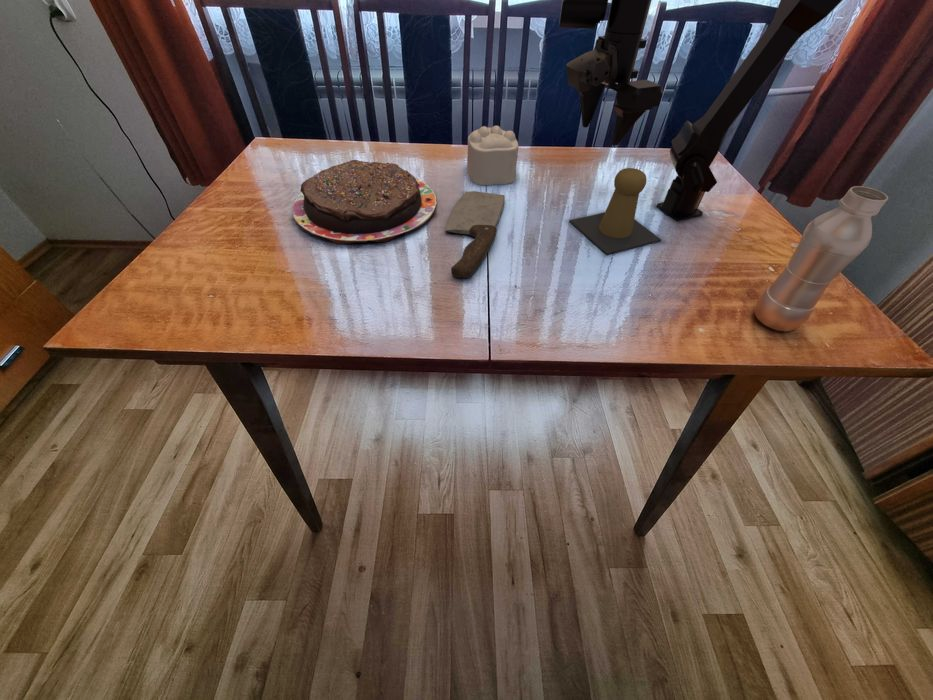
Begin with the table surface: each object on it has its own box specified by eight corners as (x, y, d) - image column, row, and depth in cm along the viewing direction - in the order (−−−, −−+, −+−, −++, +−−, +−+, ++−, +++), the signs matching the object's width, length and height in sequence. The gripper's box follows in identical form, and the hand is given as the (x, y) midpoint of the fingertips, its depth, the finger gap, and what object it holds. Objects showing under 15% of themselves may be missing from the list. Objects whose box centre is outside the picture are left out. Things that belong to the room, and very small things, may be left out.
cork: (638, 232, 78) (659, 174, 70) (615, 241, 76) (634, 182, 68) (614, 217, 81) (632, 160, 73) (592, 226, 79) (607, 168, 71)
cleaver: (483, 283, 67) (483, 272, 66) (424, 275, 68) (423, 264, 67) (506, 198, 87) (507, 188, 86) (460, 193, 88) (460, 183, 87)
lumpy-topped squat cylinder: (472, 185, 90) (473, 144, 84) (463, 160, 99) (463, 121, 93) (519, 183, 92) (523, 141, 85) (506, 158, 100) (509, 119, 94)
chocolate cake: (465, 204, 85) (465, 172, 80) (358, 266, 70) (351, 232, 65) (372, 164, 97) (368, 134, 92) (264, 211, 82) (252, 178, 77)
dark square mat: (620, 210, 84) (620, 208, 84) (660, 241, 77) (661, 239, 76) (569, 221, 81) (569, 220, 81) (606, 255, 73) (606, 253, 73)
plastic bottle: (796, 343, 59) (907, 213, 45) (745, 325, 62) (834, 197, 47) (799, 317, 63) (903, 190, 48) (750, 301, 65) (835, 175, 51)
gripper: (549, 22, 69) (536, 123, 80) (618, 48, 57) (591, 163, 69) (605, 18, 72) (584, 116, 83) (682, 42, 60) (646, 153, 72)
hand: (599, 135), depth 77 cm, fingers open, 9 cm apart
